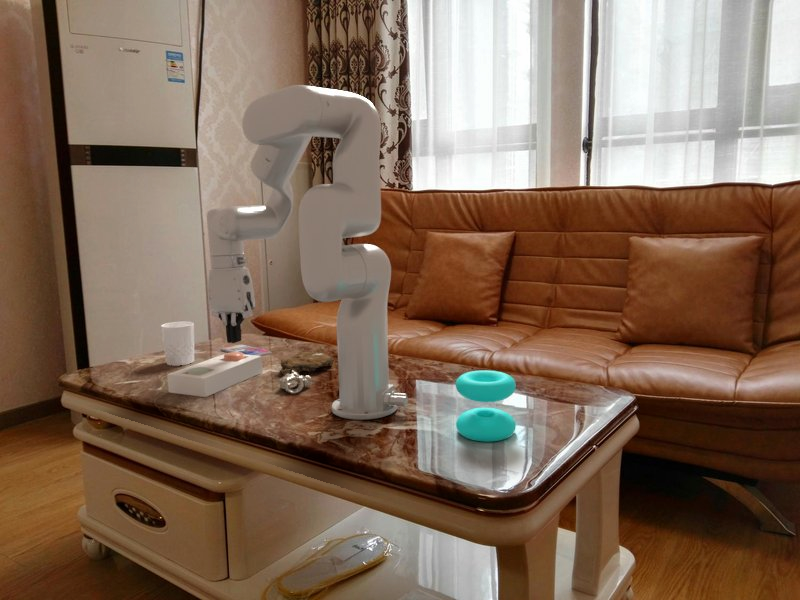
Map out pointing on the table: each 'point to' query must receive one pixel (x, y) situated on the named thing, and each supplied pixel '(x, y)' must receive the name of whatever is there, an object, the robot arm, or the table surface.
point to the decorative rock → (305, 362)
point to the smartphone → (246, 350)
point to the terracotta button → (233, 356)
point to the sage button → (198, 371)
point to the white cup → (178, 342)
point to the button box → (214, 375)
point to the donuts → (485, 420)
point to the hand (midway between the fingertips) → (234, 341)
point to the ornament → (294, 382)
